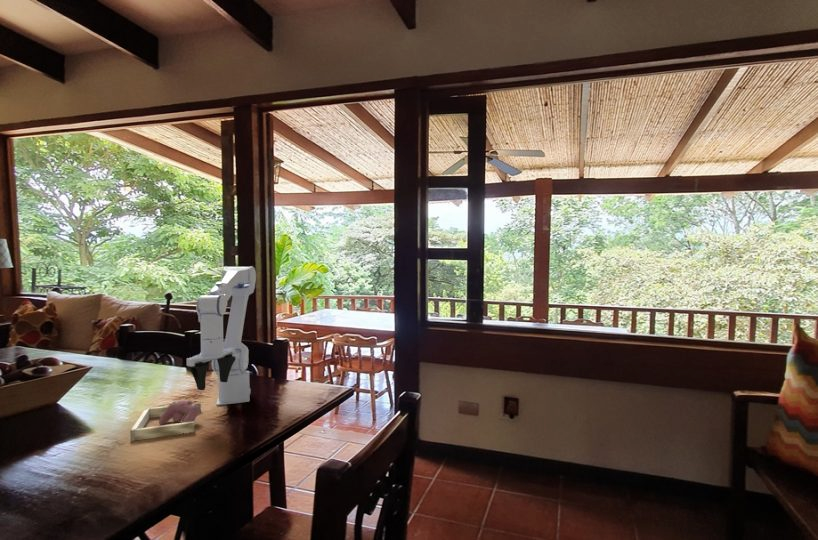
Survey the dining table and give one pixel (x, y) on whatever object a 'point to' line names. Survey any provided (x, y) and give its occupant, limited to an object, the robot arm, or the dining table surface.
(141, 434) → the bay
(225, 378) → the robot arm
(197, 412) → the video game controller
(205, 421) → the dining table surface
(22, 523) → the dining table surface
